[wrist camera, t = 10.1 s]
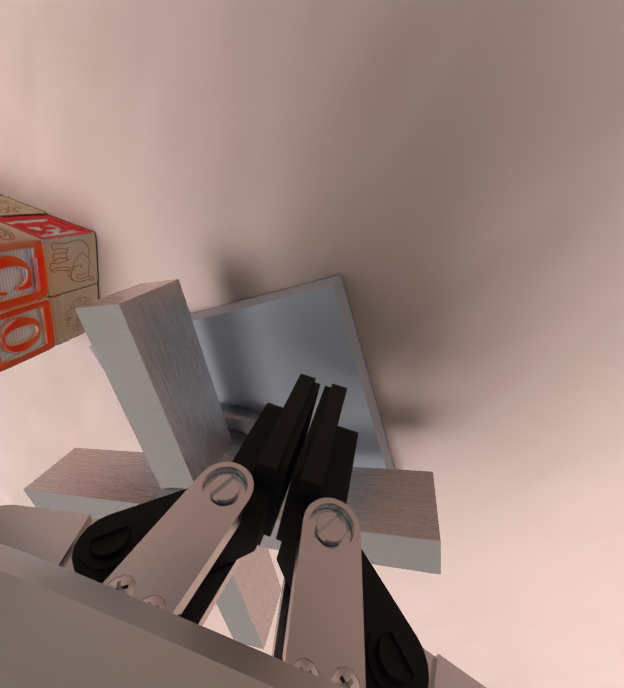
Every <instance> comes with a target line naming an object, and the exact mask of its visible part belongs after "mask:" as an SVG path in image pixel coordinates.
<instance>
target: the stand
mask: <svg viewBox="0 0 624 688" xmlns="http://www.w3.org/2000/svg"><path fill="white" fill-rule="evenodd" d="M190 315H191V318H192V321H193V324H194V327H195V330H196V333H197V336H198V339H199V342H200V345H201V348H202V351H203V354H204V357H205V360H206V363H207V366H208V369H209V372H210V375H211V378H212V382H213V385H214V388H215V391H216V394H217V397H218V400H219V403H220V406H222V405H239V406H245V407H250V408H253V409H257V410H260V411H262V410H263V409H264V407H265V405H266V404H267V403H271V404H274V405H277V406H280V407H284V405H285V403H286V401H287V399H288V397H289V395H290V393H291V391H292V389H293V388H294V386H295V384H296V382H297V380H298V378H299V376H300V374H305V375H308V376H311V377H314V378H316V381H315V382H316V383H319V384H320V388H319V392H318V396H317V399H316V403H315V407H314V411H313V414H312V418H311V422H310V425H311V423H312V420H313V417H314V414H315V412H316V409H317V406H318V404H319V401H320V398H321V395H322V393H323V390H324V387H325V386H328V387H331V386H332V383H333V384H336V385H339V386H342V387H346V388H347V392H346V396H345V399H344V403H343V407H342V411H341V415H340V419H339V423H338V426H340V427H343V428H346V429H349V430H352V431H355V432H358V439H357V445H356V451H355V457H354V463H353V467H367V468H382V469H395V468H394V464H393V461H392V457H391V453H390V450H389V446H388V443H387V439H386V435H385V432H384V428H383V425H382V421H381V417H380V414H379V410H378V407H377V403H376V399H375V396H374V392H373V389H372V385H371V381H370V378H369V374H368V371H367V367H366V363H365V360H364V356H363V353H362V349H361V345H360V342H359V338H358V335H357V331H356V327H355V324H354V320H353V317H352V313H351V309H350V306H349V302H348V299H347V295H346V291H345V288H344V284H343V281H342V277H341V274H340V275H337V276H333V277H329V278H325V279H321V280H317V281H314V282H310V283H306V284H302V285H298V286H295V287H291V288H287V289H283V290H279V291H275V292H272V293H268V294H264V295H260V296H256V297H253V298H249V299H245V300H241V301H237V302H233V303H230V304H226V305H222V306H218V307H214V308H211V309H207V310H203V311H199V312H195V313H191V314H190ZM90 348H91V350H92V352H93V353H94V355H95V356H96V358H97V360H98V361H99V363H100V365H101V362H100V360H99V358H98V356H97V354H96V352H95V350H94V348H93V346H90ZM101 366H102V365H101ZM102 368H103V367H102ZM310 425H309V428H310ZM308 431H309V429H308ZM307 434H308V433H307Z"/></svg>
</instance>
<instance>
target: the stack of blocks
mask: <svg viewBox="0 0 624 688" xmlns="http://www.w3.org/2000/svg"><path fill="white" fill-rule="evenodd" d="M97 281H98V274H97V257H96V241H95V234H94V232H92V231H90V230H87V229H84V228H82V227H79V226H76V225H73V224H71V223H68V222H65V221H63V220H60V219H57V218H54V217H52V216H48V215H47V214H46V213H45V212H43V211H41V210H38V209H36V208H33V207H31V206H28V205H25V204H23V203H20V202H18V201H15V200H13V199H10V198H7V197H4V196H0V372H1V371H4V370H6V369H8V368H10V367H13V366H15V365H17V364H19V363H21V362H24V361H26V360H28V359H30V358H32V357H34V356H37V355H39V354H41V353H43V352H45V351H47V350H49V349H51V348H53V347H54V346H55V345H59V344H62V343H64V342H66V341H68V340H70V339H72V338H74V337H76V336H79V335H81V334H83V333H85V332H86V331H85V329H84V327H83V325H82V323H81V321H80V319H79V317H78V315H77V313H76V311H75V308H77V307H80V306H82V305H85V304H88V303H91V302H93V301H96V300H98V286H97Z"/></svg>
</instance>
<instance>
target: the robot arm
mask: <svg viewBox="0 0 624 688" xmlns="http://www.w3.org/2000/svg"><path fill="white" fill-rule="evenodd" d="M315 381H316V378H314V377H311V376H308V375H305V374H300V376H299V378H298V380H297V382H296V384H295V386H294V388H293V389H292V391H291V393H290V395H289V397H288V399H287V401H286V403H285V405H284V407H280V406H277V405H274V404H271V403H267V404H266V405H265V407H264V409H263V410H262V412H261V414H260V415H259V417H258V419H257V420H256V422H255V424H254V425H253V427H252V429H251V430H250V432H249V434H248V436H247V437H246V439H245V441H244V442H243V444H242V446H241V447H240V449H239V451H238V452H237V454H236V456H235V457H234V459H233V461H232V462H221V463H216V464H214V465H212V466H210V467H208V468H207V469H206V470H205V471H204V472H202V473H201V475H200V476H199V477H198V478H197V479H196V480H195V481H194V482H193V483H192V484H191V486H190V487H189V488H187V489H184V490H181V491H178V492H175V493H172V494H169V495H166V496H163V497H160V498H157V499H154V500H151V501H148V502H145V503H142V504H139V505H136V506H133V507H130V508H127V509H124V510H121V511H118V512H115V513H112V514H109V515H107V516H105V517H103V518H101V519H98V518H91V515H90V514H88V513H79V512H71V511H62V510H53V509H45V508H36V507H28V506H19V505H2V506H0V688H486V687H484V686H483V685H482V684H480V683H479V682H477V681H476V680H475V679H473V678H472V677H470V676H469V675H467V674H466V673H465V672H463V671H462V670H460V669H459V668H458V667H456V666H455V665H453V664H452V663H450V662H449V661H448V660H446V659H445V658H443V657H442V656H441V655H439V654H438V655H437V656H434V655H432V654H431V653H429V652H428V651H427V650H425V649H424V648H422V646H421V644H420V642H419V640H418V638H417V636H416V634H415V633H414V631H413V630H412V628H411V627H410V625H409V623H408V622H407V620H406V619H405V617H404V615H403V614H402V612H401V611H400V609H399V607H398V606H397V604H396V603H395V601H394V600H393V598H392V596H391V595H390V593H389V592H388V590H387V588H386V587H385V585H384V584H383V582H382V580H381V579H380V577H379V576H378V574H377V572H376V571H375V569H374V568H373V566H372V565H371V563H370V561H369V560H368V558H367V557H366V555H365V553H364V552H363V550H362V549H361V530H360V525H359V521H358V519H357V517H356V515H355V513H354V512H353V511H352V510H351V508H350V507H349V506H348V505H346V504H347V498H348V492H349V486H350V480H351V475H352V469H353V463H354V457H355V451H356V445H357V439H358V432H355V431H352V430H349V429H346V428H343V427H340V426H338V423H339V419H340V415H341V411H342V407H343V403H344V399H345V396H346V392H347V388H346V387H342V386H339V385H336V384H333V383H332V386H331V387H328V386H325V387H324V390H323V393H322V395H321V398H320V401H319V404H318V406H317V409H316V412H315V414H314V417H313V420H312V423H311V425H310V422H311V418H312V414H313V411H314V407H315V403H316V399H317V396H318V392H319V388H320V384H319V383H316V382H315ZM309 425H310V428H309ZM308 429H309V431H308ZM307 433H308V434H307ZM289 485H290V486H289ZM288 488H289V490H288ZM287 490H288V494H287V498H286V501H285V505H284V509H283V513H282V517H281V521H280V525H279V528H278V532H277V536H276V540H279V541H282V542H281V545H280V549H279V553H278V556H277V562H278V564H279V566H280V569H281V571H282V573H283V576H284V580H283V586H282V592H281V599H280V605H279V611H278V618H277V624H276V631H275V637H274V644H273V650H272V656H270V655H268V654H266V653H263V652H261V651H259V650H256V649H254V648H252V647H249V646H247V645H245V644H242V643H240V642H238V641H235V640H233V639H231V638H228V637H226V636H224V635H221V634H219V633H217V632H214V631H212V630H210V629H207V628H205V627H203V624H204V622H205V621H206V619H207V617H208V616H209V614H210V612H211V610H212V609H213V607H214V605H215V604H216V602H217V600H218V598H219V597H220V595H221V593H222V592H223V590H224V588H225V587H226V585H227V583H228V581H229V580H230V578H231V576H232V575H233V573H234V571H235V569H236V568H237V566H238V564H239V562H240V560H241V557H243V556H246V555H248V554H250V553H252V552H254V551H255V549H256V547H257V545H259V546H260V544H261V541H262V539H263V536H264V535H266V536H269V537H271V534H272V532H273V529H274V526H275V523H276V521H277V518H278V515H279V512H280V510H281V507H282V504H283V501H284V499H285V496H286V493H287Z"/></svg>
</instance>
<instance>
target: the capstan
mask: <svg viewBox="0 0 624 688" xmlns="http://www.w3.org/2000/svg"><path fill="white" fill-rule="evenodd" d="M75 311H76V313H77V315H78V317H79V319H80V321H81V323H82V325H83V327H84V329H85V331H86V333H87V335H88V338H89V340H90V342H91V344H92V346H93V348H94V350H95V352H96V354H97V356H98V358H99V360H100V362H101V365H102V367H103V369H104V371H105V373H106V375H107V377H108V379H109V381H110V383H111V385H112V387H113V389H114V392H115V394H116V396H117V398H118V400H119V402H120V404H121V406H122V408H123V410H124V412H125V414H126V416H127V419H128V421H129V423H130V425H131V427H132V429H133V431H134V433H135V435H136V437H137V439H138V441H139V443H140V446H141V448H142V450H143V452H144V453H143V452H128V451H113V450H98V449H83V448H74V449H73V450H72V451H71V452H69V453H68V454H67V455H66V456H64V457H63V458H62V459H61V460H59V461H58V462H57V463H56V464H54V465H53V466H52V467H51V468H49V469H48V470H47V471H46V472H44V473H43V474H42V475H41V476H39V477H38V478H37V479H36V480H34V481H33V482H32V483H31V484H29V485H28V486H27V487H26V488H24V489H23V490H24V491H25V492H26V494H27V495H28V497H29V498H30V499H31V501H32V502H33V504H34V505H35V506H36V508H45V509H53V510H62V511H71V512H79V513H88V514H90V515H91V518H98V519H101V518H103V517H105V516H107V515H109V514H112V513H115V512H118V511H121V510H124V509H127V508H130V507H133V506H136V505H139V504H142V503H145V502H148V501H151V500H154V499H157V498H160V497H163V496H166V495H169V494H172V493H175V492H178V491H181V490H184V489H187V488H189V487H190V486H191V484H192V483H193V482H194V481H195V480H196V479H197V478H198V477H199V476H200V475H201V473H202V472H204V471H205V470H206V469H207V468H208V467H210V466H212V465H214V464H216V463H221V462H232V461H233V459H234V457H235V456H236V454H237V452H238V451H239V449H240V447H241V446H242V444H243V442H244V441H245V439H246V437H247V436H248V434H249V432H250V430H251V429H252V427H253V425H254V424H255V422H256V420H257V419H258V417H259V415H260V414H261V412H262V411H260V410H257V409H253V408H250V407H245V406H239V405H222V406H220V403H219V400H218V397H217V394H216V391H215V388H214V385H213V382H212V378H211V375H210V372H209V369H208V366H207V363H206V360H205V357H204V354H203V351H202V348H201V345H200V342H199V339H198V336H197V333H196V330H195V327H194V324H193V321H192V318H191V315H190V312H189V309H188V306H187V303H186V300H185V297H184V294H183V291H182V288H181V285H180V282H179V279H176V280H167V281H159V282H151V283H142V284H139V285H136V286H133V287H131V288H128V289H125V290H123V291H120V292H117V293H115V294H112V295H109V296H107V297H104V298H101V299H99V300H96V301H93V302H91V303H88V304H85V305H82V306H80V307H77V308H75ZM289 486H290V485H289ZM288 490H289V488H288ZM288 490H287V493H286V496H285V499H284V501H283V504H282V507H281V510H280V512H279V515H278V518H277V521H276V523H275V526H274V529H273V532H272V534H271V537H269V536H266V535H264V536H263V539H262V541H261V544H260V546H259V545H257V547H256V549H255V551H254V552H252V553H250V554H248V555H246V556H243V557H241V560H240V562H239V564H238V566H237V568H236V569H235V571H234V573H233V575H232V576H231V578H230V580H229V581H228V583H227V585H226V587H225V588H224V590H223V592H222V593H221V595H220V597H219V598H218V600H217V602H216V603H217V606H218V608H219V610H220V612H221V614H222V616H223V618H224V620H225V622H226V624H227V626H228V628H229V631H230V633H231V635H232V637H233V639H234V640H235V641H238V642H240V643H242V644H246V645H250V646H254V647H258V648H262V649H264V647H265V644H266V640H267V637H268V633H269V630H270V627H271V623H272V620H273V617H274V613H275V610H276V606H277V603H278V600H279V596H280V593H281V587H280V584H279V580H278V577H277V574H276V571H275V568H274V565H273V562H272V559H271V556H270V553H269V550H268V548H270V549H277V550H279V549H280V545H281V542H282V541H279V540H276V536H277V532H278V528H279V525H280V521H281V517H282V513H283V509H284V505H285V501H286V498H287V494H288ZM346 505H348V506H349V507H350V508H351V510H352V511H353V512H354V513H355V515H356V517H357V519H358V521H359V525H360V530H361V549H362V550H363V552H364V553H365V555H366V557H367V558H368V560H369V561H370V563H371V564H375V565H382V566H388V567H395V568H401V569H408V570H415V571H421V572H428V573H434V574H441V541H440V532H439V523H438V514H437V505H436V496H435V487H434V478H433V472H426V471H411V470H397V469H382V468H367V467H353V469H352V475H351V480H350V486H349V492H348V498H347V504H346Z"/></svg>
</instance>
